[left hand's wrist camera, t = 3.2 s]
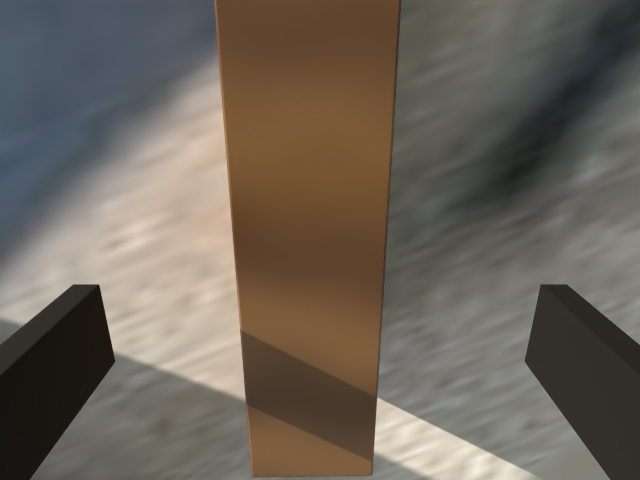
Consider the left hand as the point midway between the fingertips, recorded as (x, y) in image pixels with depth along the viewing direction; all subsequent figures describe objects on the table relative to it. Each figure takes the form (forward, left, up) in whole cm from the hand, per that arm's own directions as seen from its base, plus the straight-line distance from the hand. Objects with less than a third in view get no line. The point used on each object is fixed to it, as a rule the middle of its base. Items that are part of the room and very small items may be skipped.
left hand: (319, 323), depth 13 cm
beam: (+10, +32, -10) cm, 35 cm away
